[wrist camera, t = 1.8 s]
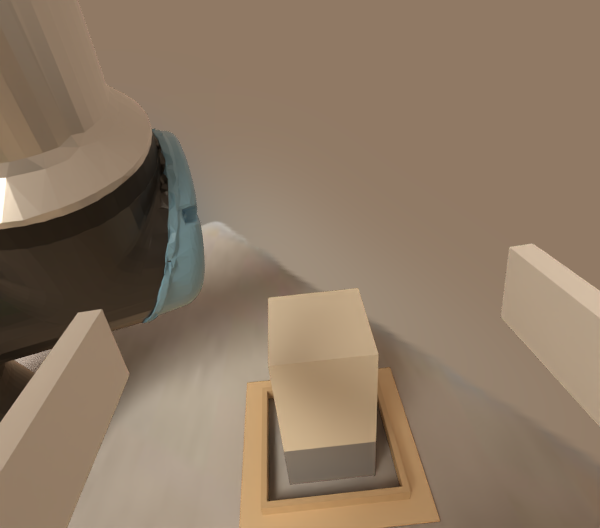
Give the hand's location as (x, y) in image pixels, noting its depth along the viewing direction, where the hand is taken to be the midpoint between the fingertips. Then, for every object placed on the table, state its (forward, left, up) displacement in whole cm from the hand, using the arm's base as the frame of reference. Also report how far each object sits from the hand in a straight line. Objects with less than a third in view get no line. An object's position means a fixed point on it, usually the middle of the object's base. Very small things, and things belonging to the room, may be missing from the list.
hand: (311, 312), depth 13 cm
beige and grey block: (-6, +5, -20) cm, 21 cm away
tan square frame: (-6, +5, -20) cm, 21 cm away
